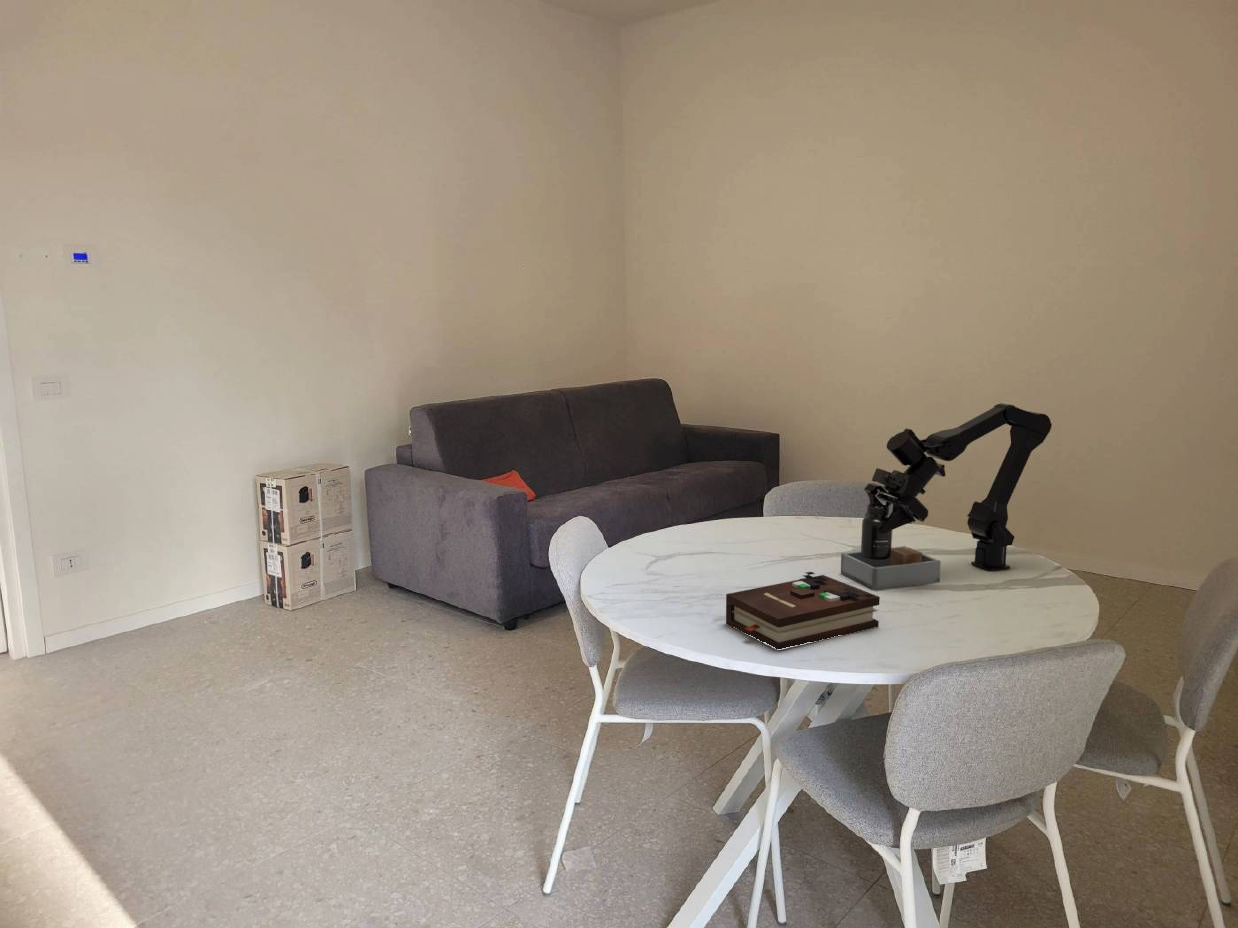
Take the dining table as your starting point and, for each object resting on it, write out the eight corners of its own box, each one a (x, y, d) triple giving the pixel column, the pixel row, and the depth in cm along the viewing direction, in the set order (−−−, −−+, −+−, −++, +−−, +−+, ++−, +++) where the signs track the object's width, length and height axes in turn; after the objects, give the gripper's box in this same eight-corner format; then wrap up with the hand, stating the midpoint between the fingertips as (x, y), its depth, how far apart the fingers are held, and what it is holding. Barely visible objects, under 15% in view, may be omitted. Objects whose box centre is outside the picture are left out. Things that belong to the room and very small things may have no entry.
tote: (903, 565, 223) (904, 546, 222) (939, 581, 210) (940, 561, 209) (840, 573, 217) (841, 553, 217) (873, 590, 205) (874, 569, 204)
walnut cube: (908, 567, 218) (908, 547, 217) (921, 573, 213) (922, 552, 213) (890, 569, 217) (891, 549, 216) (903, 575, 212) (903, 554, 211)
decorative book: (713, 590, 184) (828, 567, 198) (712, 625, 186) (826, 601, 199) (772, 619, 167) (893, 592, 181) (771, 657, 169) (891, 628, 183)
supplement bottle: (880, 562, 207) (882, 511, 205) (854, 556, 212) (856, 506, 210) (897, 556, 211) (899, 505, 209) (871, 550, 216) (873, 501, 214)
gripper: (872, 449, 217) (829, 498, 216) (918, 462, 200) (872, 516, 199) (899, 479, 221) (858, 527, 220) (948, 494, 203) (903, 547, 202)
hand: (871, 529), depth 210 cm, fingers closed on supplement bottle, 7 cm apart
